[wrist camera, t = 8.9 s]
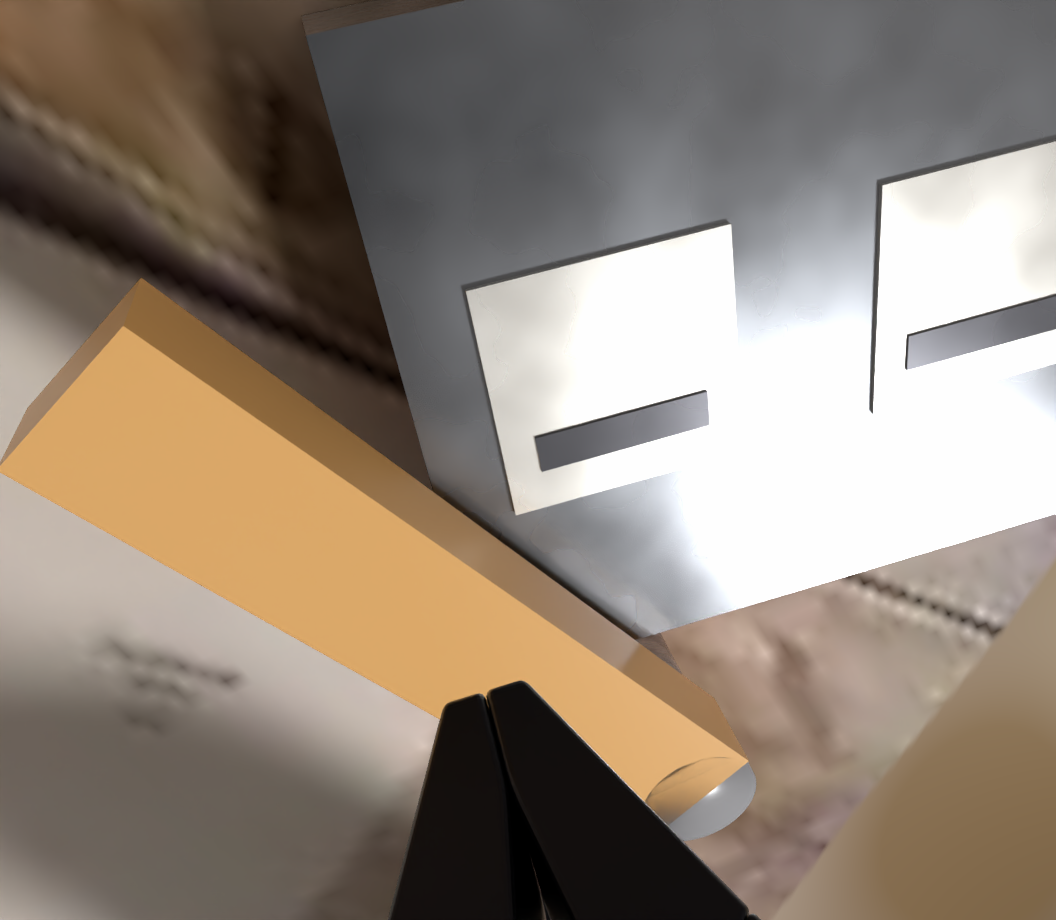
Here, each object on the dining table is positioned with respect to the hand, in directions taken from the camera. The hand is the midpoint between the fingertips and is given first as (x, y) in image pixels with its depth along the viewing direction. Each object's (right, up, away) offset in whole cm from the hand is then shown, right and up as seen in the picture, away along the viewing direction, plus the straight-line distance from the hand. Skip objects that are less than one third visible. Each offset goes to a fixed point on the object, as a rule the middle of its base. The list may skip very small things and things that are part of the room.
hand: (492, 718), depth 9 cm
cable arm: (-1, 0, +10) cm, 10 cm away
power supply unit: (+6, +5, +13) cm, 15 cm away
